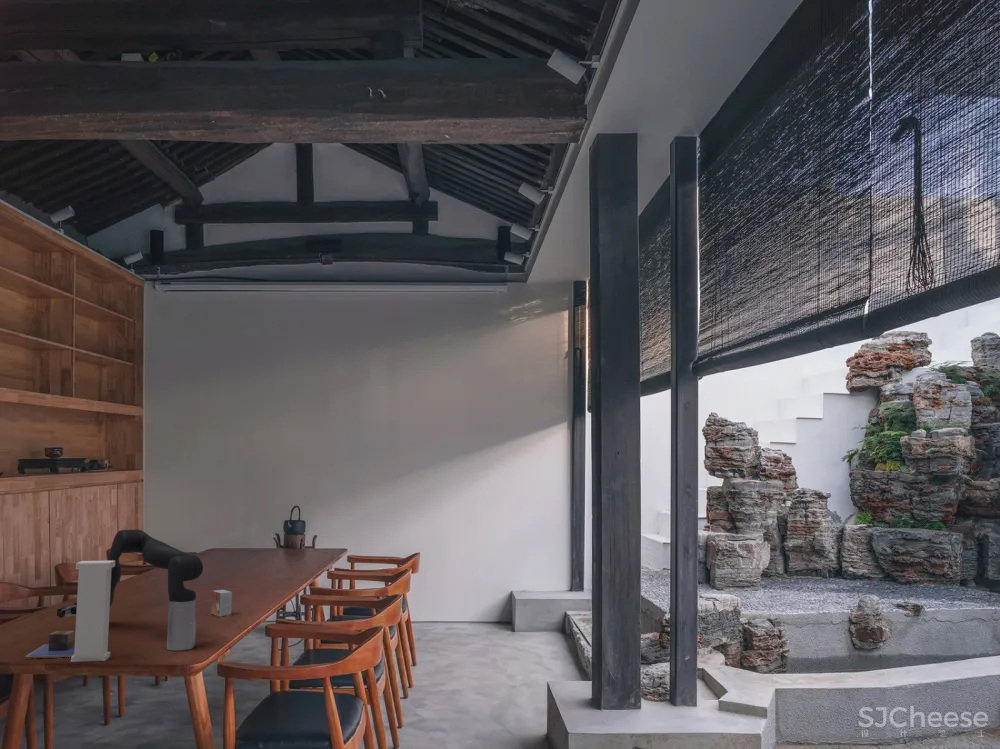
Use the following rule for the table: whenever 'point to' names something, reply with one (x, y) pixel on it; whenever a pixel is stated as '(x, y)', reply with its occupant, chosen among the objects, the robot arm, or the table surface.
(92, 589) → the tall post
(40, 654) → the pad
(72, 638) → the stamp
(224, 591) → the small box
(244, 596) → the table surface
